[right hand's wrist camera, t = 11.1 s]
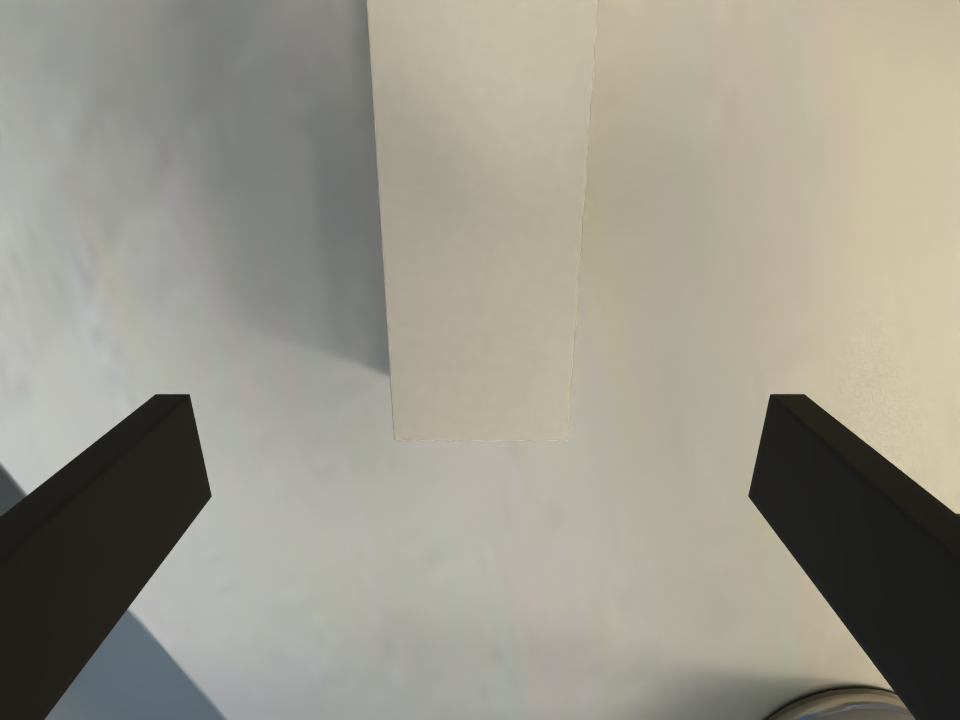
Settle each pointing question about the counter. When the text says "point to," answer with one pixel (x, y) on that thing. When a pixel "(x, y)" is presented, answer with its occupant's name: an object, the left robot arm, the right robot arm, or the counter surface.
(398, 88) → the wide beam
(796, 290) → the counter surface
